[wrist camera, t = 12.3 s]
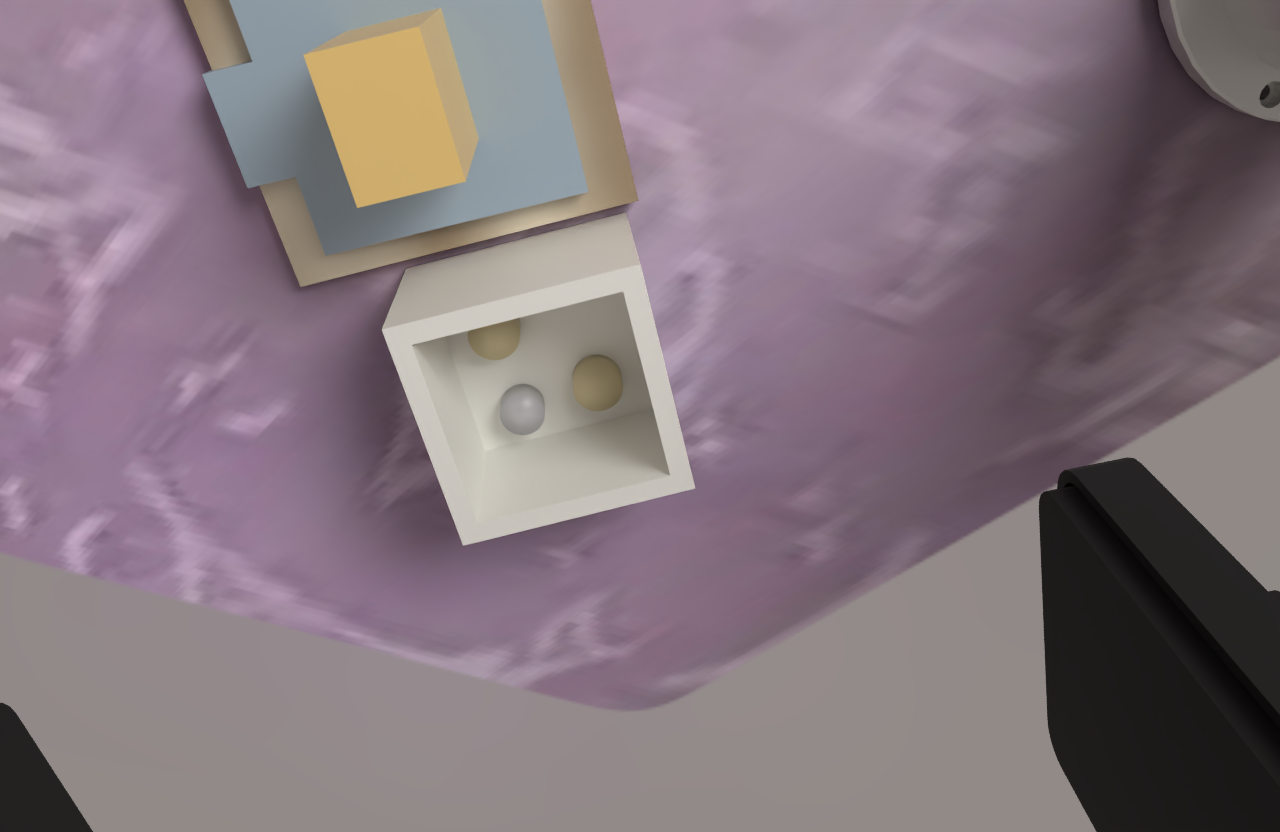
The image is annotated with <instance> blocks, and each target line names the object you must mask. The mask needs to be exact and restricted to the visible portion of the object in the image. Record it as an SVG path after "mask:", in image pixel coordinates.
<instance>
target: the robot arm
mask: <svg viewBox="0 0 1280 832" xmlns="http://www.w3.org/2000/svg"><path fill="white" fill-rule="evenodd" d="M1158 6H1159V12H1160V18H1161V21H1162V24H1163V26H1164V29H1165V32H1166V35H1167V38H1168V40H1169V43H1170V46H1171V49H1172V50H1173V52H1174V53H1175V55H1176V57H1177V58H1178V60H1179V61H1180V63H1181V64H1182V66H1183V68H1184V69H1185V71H1186V72H1187V74H1188V75H1189V76H1190V77H1191V78H1192V79H1193V80H1194V81H1195V82H1196V83H1197V84H1198V85H1199V86H1200V87H1201V88H1202V89H1203V90H1204V91H1205V92H1207V93H1208V94H1209V95H1210V96H1211V97H1213V98H1214V99H1216V100H1218V101H1220V102H1222V103H1223V104H1225V105H1227V106H1229V107H1231V108H1232V109H1234V110H1236V111H1239V112H1242V113H1245V114H1248V115H1252V116H1255V117H1258V118H1261V119H1265V120H1270V121H1277V122H1280V0H1158ZM1039 518H1040V519H1039V520H1040V545H1041V568H1042V594H1043V619H1044V643H1045V666H1046V693H1047V717H1048V728H1049V733H1050V738H1051V742H1052V745H1053V748H1054V751H1055V754H1056V756H1057V759H1058V761H1059V763H1060V765H1061V767H1062V769H1063V771H1064V773H1065V775H1066V777H1067V779H1068V780H1069V782H1070V784H1071V786H1072V788H1073V790H1074V791H1075V793H1076V795H1077V797H1078V799H1079V801H1080V802H1081V804H1082V806H1083V808H1084V810H1085V812H1086V813H1087V815H1088V817H1089V818H1090V821H1091V822H1092V824H1093V826H1094V828H1095V830H1096V831H1097V832H1280V592H1279V591H1276V590H1274V591H1269V592H1268V591H1267V590H1266V589H1265V588H1264V587H1263V586H1262V585H1261V584H1260V583H1259V582H1258V581H1257V580H1256V579H1255V578H1254V577H1253V576H1252V575H1251V574H1250V573H1249V572H1248V571H1247V570H1246V569H1245V568H1244V567H1243V566H1242V565H1241V564H1240V563H1239V562H1238V561H1237V560H1236V559H1235V558H1234V557H1233V556H1232V555H1231V554H1230V553H1229V552H1228V551H1227V550H1226V549H1225V548H1224V547H1223V546H1222V545H1221V544H1220V543H1219V542H1218V541H1217V540H1216V539H1215V537H1213V536H1212V534H1210V533H1209V532H1208V530H1207V529H1206V528H1205V527H1204V526H1203V525H1202V524H1201V523H1200V522H1199V521H1197V519H1196V518H1195V517H1194V516H1193V515H1192V514H1191V513H1190V512H1189V511H1188V510H1187V509H1186V508H1185V507H1184V506H1183V505H1182V504H1181V503H1180V502H1179V501H1178V500H1177V499H1176V498H1175V497H1174V496H1173V495H1172V494H1171V493H1170V492H1169V491H1168V490H1167V489H1166V488H1165V487H1164V486H1163V485H1162V484H1161V483H1160V482H1159V481H1158V480H1157V479H1156V478H1155V477H1154V476H1153V475H1152V474H1151V473H1150V472H1149V471H1148V470H1147V469H1146V468H1145V467H1144V466H1143V465H1142V464H1141V463H1140V462H1138V461H1137V460H1136V459H1134V458H1123V459H1118V460H1113V461H1108V462H1103V463H1098V464H1093V465H1088V466H1083V467H1078V468H1073V469H1068V470H1064V471H1063V472H1062V473H1061V474H1060V476H1059V480H1058V486H1057V489H1055V490H1050V491H1045V492H1043V493H1042V494H1041V496H1040V500H1039ZM0 832H93V831H92V830H91V828H90V826H89V825H88V824H87V822H86V820H85V819H84V817H83V816H82V814H81V813H80V811H79V810H78V808H77V806H76V805H75V803H74V802H73V801H72V799H71V797H70V796H69V794H68V793H67V791H66V790H65V788H64V786H63V785H62V783H61V782H60V780H59V779H58V778H57V776H56V774H55V773H54V771H53V770H52V768H51V766H50V765H49V763H48V762H47V760H46V759H45V757H44V756H43V754H42V753H41V751H40V750H39V748H38V746H37V745H36V743H35V742H34V740H33V739H32V737H31V736H30V734H29V733H28V731H27V729H26V728H25V726H24V725H23V723H22V722H21V720H20V719H19V717H18V716H17V714H16V713H15V712H14V710H13V709H12V708H11V707H9V706H8V705H6V704H4V703H0Z"/></svg>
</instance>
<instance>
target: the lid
mask: <svg viewBox="0 0 1280 832" xmlns="http://www.w3.org/2000/svg"><path fill="white" fill-rule="evenodd" d="M229 1H230V3H231V6H232V9H233V11H234V14H235V17H236V19H237V22H238V25H239V27H240V30H241V33H242V35H243V38H244V41H245V43H246V46H247V49H248V51H249V54H250V56H251V59H252V61H248V62H244V63H240V64H236V65H232V66H228V67H224V68H219V69H215V70H211V71H208V72H206V73H204V74H202V76H203V78H204V81H205V83H206V86H207V88H208V91H209V93H210V96H211V98H212V101H213V103H214V106H215V108H216V111H217V113H218V116H219V118H220V121H221V123H222V126H223V128H224V131H225V133H226V136H227V138H228V141H229V143H230V146H231V148H232V151H233V153H234V156H235V158H236V161H237V163H238V166H239V168H240V171H241V173H242V176H243V178H244V181H245V183H246V186H247V188H252V187H256V186H260V185H264V184H268V183H272V182H276V181H281V180H285V179H289V178H293V177H296V179H297V181H298V184H299V187H300V189H301V192H302V195H303V197H304V200H305V203H306V205H307V208H308V211H309V213H310V216H311V219H312V221H313V224H314V227H315V229H316V232H317V235H318V237H319V240H320V242H321V245H322V248H323V250H324V253H325V256H327V255H331V254H335V253H339V252H343V251H347V250H352V249H356V248H360V247H364V246H368V245H372V244H376V243H380V242H385V241H389V240H393V239H397V238H401V237H405V236H409V235H413V234H417V233H422V232H426V231H430V230H434V229H438V228H442V227H446V226H450V225H455V224H459V223H463V222H467V221H471V220H475V219H479V218H483V217H488V216H492V215H496V214H500V213H504V212H508V211H512V210H516V209H520V208H525V207H529V206H533V205H537V204H541V203H545V202H549V201H553V200H558V199H562V198H566V197H570V196H574V195H578V194H582V193H586V192H588V186H587V182H586V178H585V174H584V170H583V166H582V162H581V158H580V154H579V150H578V146H577V142H576V138H575V134H574V130H573V126H572V122H571V118H570V113H569V109H568V105H567V101H566V97H565V93H564V89H563V85H562V81H561V77H560V73H559V69H558V65H557V61H556V57H555V53H554V49H553V45H552V41H551V36H550V32H549V28H548V24H547V20H546V16H545V12H544V8H543V4H542V0H229Z"/></svg>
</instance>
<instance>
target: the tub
mask: <svg viewBox="0 0 1280 832" xmlns="http://www.w3.org/2000/svg"><path fill="white" fill-rule="evenodd" d="M382 332H383V335H384V337H385V340H386V343H387V345H388V348H389V350H390V353H391V356H392V358H393V361H394V364H395V366H396V369H397V372H398V374H399V377H400V380H401V382H402V385H403V388H404V390H405V393H406V396H407V398H408V401H409V403H410V406H411V409H412V411H413V414H414V417H415V419H416V422H417V425H418V427H419V430H420V433H421V435H422V438H423V441H424V443H425V446H426V449H427V451H428V454H429V456H430V459H431V462H432V464H433V467H434V470H435V472H436V475H437V478H438V480H439V483H440V486H441V488H442V491H443V494H444V496H445V499H446V501H447V504H448V507H449V509H450V512H451V515H452V517H453V520H454V523H455V525H456V528H457V531H458V533H459V536H460V539H461V541H462V544H463V546H464V545H468V544H472V543H477V542H481V541H485V540H489V539H493V538H497V537H501V536H505V535H509V534H513V533H517V532H521V531H525V530H529V529H533V528H537V527H541V526H545V525H549V524H553V523H557V522H561V521H566V520H570V519H574V518H578V517H582V516H586V515H590V514H594V513H598V512H602V511H606V510H610V509H614V508H618V507H622V506H626V505H630V504H634V503H638V502H642V501H646V500H650V499H655V498H659V497H663V496H667V495H671V494H675V493H679V492H683V491H687V490H691V489H695V485H694V481H693V477H692V473H691V469H690V465H689V461H688V457H687V452H686V448H685V444H684V440H683V436H682V432H681V428H680V424H679V420H678V416H677V412H676V408H675V404H674V399H673V395H672V391H671V387H670V383H669V379H668V375H667V371H666V367H665V363H664V359H663V355H662V350H661V346H660V342H659V338H658V334H657V330H656V326H655V322H654V318H653V314H652V310H651V306H650V302H649V297H648V293H647V289H646V285H645V281H644V277H643V273H642V269H641V265H640V261H639V258H638V254H637V250H636V247H635V243H634V239H633V236H632V232H631V229H630V225H629V221H628V218H627V214H626V212H625V213H621V214H617V215H614V216H610V217H606V218H602V219H598V220H594V221H590V222H586V223H582V224H578V225H574V226H570V227H567V228H563V229H559V230H555V231H551V232H547V233H543V234H539V235H535V236H531V237H527V238H523V239H520V240H516V241H512V242H508V243H504V244H500V245H496V246H492V247H488V248H484V249H480V250H476V251H473V252H469V253H465V254H461V255H457V256H453V257H449V258H445V259H441V260H437V261H433V262H429V263H426V264H422V265H418V266H414V267H410V268H406V270H405V273H404V275H403V278H402V280H401V283H400V285H399V288H398V290H397V293H396V295H395V298H394V300H393V303H392V305H391V308H390V310H389V313H388V315H387V318H386V320H385V323H384V325H383V328H382Z"/></svg>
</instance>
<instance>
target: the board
mask: <svg viewBox="0 0 1280 832" xmlns="http://www.w3.org/2000/svg"><path fill="white" fill-rule="evenodd" d="M184 3H185V5H186V7H187V10H188V12H189V15H190V17H191V20H192V22H193V25H194V27H195V30H196V32H197V34H198V37H199V39H200V42H201V44H202V47H203V49H204V52H205V54H206V56H207V59H208V61H209V64H210V66H211V69H212V70H215V69H219V68H224V67H228V66H232V65H236V64H240V63H244V62H248V61H252V59H251V56H250V54H249V51H248V49H247V46H246V43H245V41H244V38H243V35H242V33H241V30H240V27H239V25H238V22H237V19H236V17H235V14H234V11H233V9H232V6H231V3H230V1H229V0H184ZM542 4H543V8H544V12H545V16H546V20H547V24H548V28H549V32H550V36H551V41H552V45H553V49H554V53H555V57H556V61H557V65H558V69H559V73H560V77H561V81H562V85H563V89H564V93H565V97H566V101H567V105H568V109H569V113H570V118H571V122H572V126H573V130H574V134H575V138H576V142H577V146H578V150H579V154H580V158H581V162H582V166H583V170H584V174H585V178H586V182H587V186H588V192H586V193H582V194H578V195H574V196H570V197H566V198H562V199H558V200H553V201H549V202H545V203H541V204H537V205H533V206H529V207H525V208H520V209H516V210H512V211H508V212H504V213H500V214H496V215H492V216H488V217H483V218H479V219H475V220H471V221H467V222H463V223H459V224H455V225H450V226H446V227H442V228H438V229H434V230H430V231H426V232H422V233H417V234H413V235H409V236H405V237H401V238H397V239H393V240H389V241H385V242H380V243H376V244H372V245H368V246H364V247H360V248H356V249H352V250H347V251H343V252H339V253H335V254H331V255H327V256H325V253H324V250H323V248H322V245H321V242H320V240H319V237H318V235H317V232H316V229H315V227H314V224H313V221H312V219H311V216H310V213H309V211H308V208H307V205H306V203H305V200H304V197H303V195H302V192H301V189H300V187H299V184H298V181H297V179H296V177H293V178H289V179H285V180H281V181H276V182H272V183H268V184H264V185H260V189H261V191H262V194H263V196H264V199H265V201H266V204H267V206H268V208H269V211H270V213H271V216H272V218H273V221H274V223H275V226H276V228H277V230H278V233H279V235H280V238H281V240H282V243H283V245H284V248H285V250H286V253H287V255H288V257H289V260H290V262H291V265H292V267H293V270H294V272H295V275H296V277H297V279H298V282H299V284H300V287H303V286H307V285H311V284H315V283H318V282H322V281H326V280H330V279H334V278H338V277H342V276H346V275H350V274H354V273H358V272H361V271H365V270H369V269H373V268H377V267H381V266H385V265H389V264H393V263H397V262H401V261H405V260H408V259H412V258H416V257H420V256H424V255H428V254H432V253H436V252H440V251H444V250H448V249H451V248H455V247H459V246H463V245H467V244H471V243H475V242H479V241H483V240H487V239H491V238H495V237H498V236H502V235H506V234H510V233H514V232H518V231H522V230H526V229H530V228H534V227H538V226H541V225H545V224H549V223H553V222H557V221H561V220H565V219H569V218H573V217H577V216H581V215H585V214H588V213H592V212H596V211H600V210H604V209H608V208H612V207H616V206H620V205H624V204H628V203H631V202H635V201H638V197H637V193H636V189H635V184H634V180H633V176H632V172H631V168H630V163H629V159H628V155H627V151H626V147H625V143H624V138H623V134H622V130H621V126H620V122H619V117H618V113H617V109H616V105H615V101H614V97H613V92H612V88H611V84H610V80H609V76H608V71H607V67H606V63H605V59H604V55H603V50H602V46H601V42H600V38H599V34H598V30H597V25H596V21H595V17H594V13H593V9H592V4H591V0H542Z"/></svg>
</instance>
